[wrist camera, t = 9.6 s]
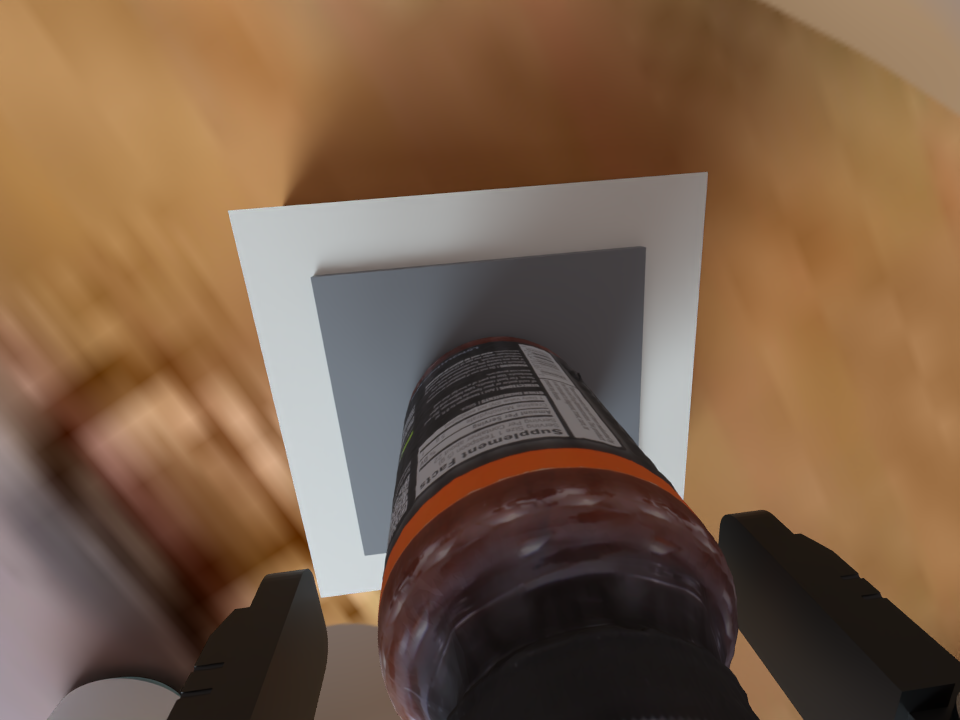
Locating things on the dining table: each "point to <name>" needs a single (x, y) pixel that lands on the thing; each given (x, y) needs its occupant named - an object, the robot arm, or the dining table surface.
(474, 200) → the white and gray stand
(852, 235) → the dining table surface
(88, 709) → the can
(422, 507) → the supplement bottle
